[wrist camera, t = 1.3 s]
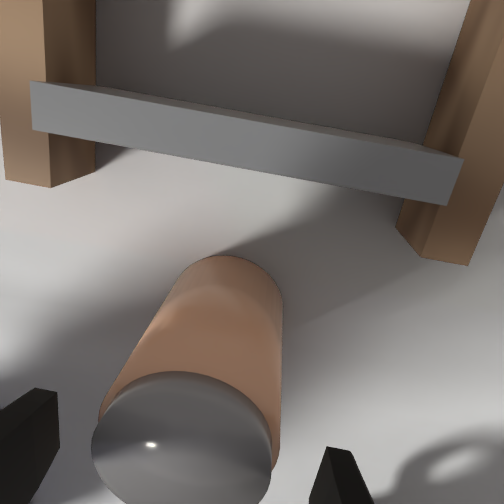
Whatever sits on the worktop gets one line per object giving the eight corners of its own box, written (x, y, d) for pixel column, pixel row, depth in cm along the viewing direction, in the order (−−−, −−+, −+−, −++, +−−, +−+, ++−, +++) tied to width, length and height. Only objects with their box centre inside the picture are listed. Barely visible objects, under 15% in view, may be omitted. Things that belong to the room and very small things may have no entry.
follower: (402, 176, 13) (446, 205, 10) (102, 122, 14) (32, 129, 10) (413, 142, 13) (464, 159, 9) (102, 86, 13) (29, 80, 9)
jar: (271, 362, 17) (260, 545, 10) (167, 342, 18) (84, 509, 10) (293, 267, 16) (298, 411, 8) (176, 245, 16) (82, 368, 8)
